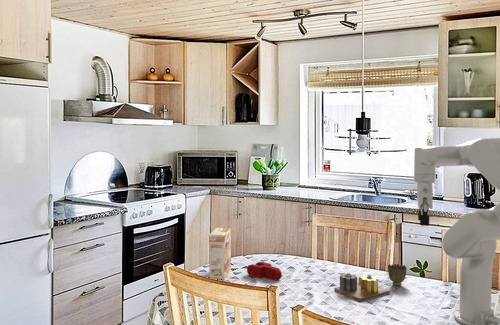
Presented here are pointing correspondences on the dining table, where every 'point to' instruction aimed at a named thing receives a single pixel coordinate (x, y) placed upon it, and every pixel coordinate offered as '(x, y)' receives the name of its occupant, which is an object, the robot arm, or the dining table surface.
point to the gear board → (357, 288)
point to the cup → (397, 274)
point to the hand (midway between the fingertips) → (423, 222)
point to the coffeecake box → (220, 253)
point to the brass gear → (369, 284)
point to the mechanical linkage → (264, 271)
